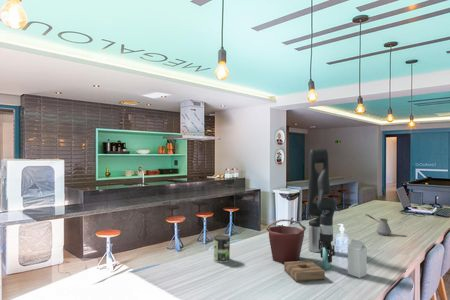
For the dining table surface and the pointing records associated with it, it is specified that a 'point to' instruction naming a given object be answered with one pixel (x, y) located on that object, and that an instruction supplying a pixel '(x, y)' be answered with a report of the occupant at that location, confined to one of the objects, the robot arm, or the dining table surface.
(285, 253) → the bucket
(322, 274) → the bore block
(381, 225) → the coffee pot
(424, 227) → the dining table surface
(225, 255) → the coffee can
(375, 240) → the dining table surface
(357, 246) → the milk carton
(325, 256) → the dowel
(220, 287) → the dining table surface
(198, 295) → the dining table surface
